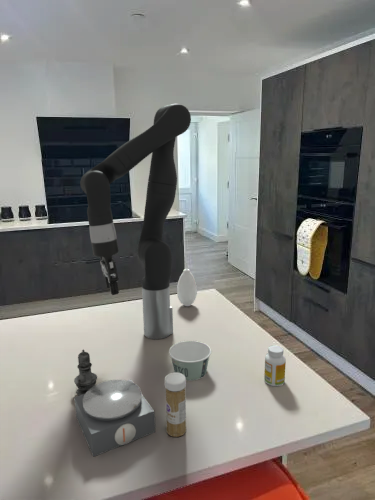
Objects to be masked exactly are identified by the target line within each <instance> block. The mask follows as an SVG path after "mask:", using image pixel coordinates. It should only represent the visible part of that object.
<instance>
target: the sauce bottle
mask: <svg viewBox="0 0 375 500" xmlns="http://www.w3.org/2000/svg"><path fill="white" fill-rule="evenodd" d="M176 294H177V299H178V301H179V303H180V304H182V305H183V306H185V307H190V306H192V304H195V303H194V302H195V301H196V298H197V295H198V287H197V283H196V279H195V277H194V275H193V273H192V272H191V269H189V268H188V263H186V264H185V269H183V271H182V273H181V275H180V276H179V279H178V281H177V287H176Z"/></svg>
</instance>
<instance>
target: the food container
mask: <svg viewBox="0 0 375 500" xmlns="http://www.w3.org/2000/svg"><path fill="white" fill-rule="evenodd" d="M168 355H169V357H170V358H171V362H172V363H171V364H172V368H173V373H175V372H177V373H181V374H183V375H184V376H185V378H186V381H196V380H200V379H202V378H203V377H205V376H206V374H207V371H208V367H209V360H210V356H211V355H212V349H211V347H210V345H208V344H207V343H205V342H202V341H197V340H184V341H183V340H182V341H179V342H176V343H174V344H173V345H171V346H170V348H169V349H168Z"/></svg>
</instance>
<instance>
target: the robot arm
mask: <svg viewBox="0 0 375 500" xmlns="http://www.w3.org/2000/svg"><path fill="white" fill-rule="evenodd" d="M191 122H192V116H191V112H190V111H189V109H188V108H187V106H185V105H183V104H182V103H181V104H180V103H172V104H167V105H164V106H161V107H159V108H158V109H157V110H156V112H155V114H154V118H153V125H151V126H150V127H149V128H148V129H146V130H144V131H143V132H141V133H140V134H138V135H137V136H135V137H133V138H131V139H129V140H127V142H125V143H123V144H122V145H121V146H119V147H118V148H116V150H114V151H113V152H112V153H111V154H109V155H108V156H107V157H105V159H104V160H103V161H102V162H100V163H98V164H96V165H94V166H93V167H92V168H91V169H89V170H87V171H86V172H85V173H84V174H83V175H82V176H81V178H80V181H79V183H80V184H79V185H80V189H81V190H82V191H83V192H84V194H85V195H86V199H87V200H86V201H87V206H88V207H87V209H86V214H87V220H88V226H89V236H90V237H89V238H90V243H91V249H92V254H93V256H94V257H95V258H99V259H100V261H99V262H100V266H101V271H102V275H103V277H104V279H105V285H106V286H105V287H106V288H107V289H110V294H111V295H112V296H115V295H118V294H119V293H120V292H119V286H118V282H119V275H118V270H117V262H116V260H115V259H114V258H113V256H114V255H117V254H118V253H119V252H120V251H119V250H120V249H119V244H118V239H117V238H118V237H117V232H116V228H115V224H114V219H113V213H112V208H111V207H112V206H111V186H110V185H111V184H112V183H114V181H116V180H117V179H120V178H122V177H124V176H125V175H127V174H128V173H129V172H130V171H132V169H134V168H135V167H136V166H137V165H139V163H141V162H142V161H143V160H144V159H146V158H147V157H149V156H150V155H151V158H150V166H149V173H148V174H149V175H148V179H147V186H146V194H145V195H146V196H145V206H144V211H143V212H144V214H143V221H142V222H143V223H142V227H141V231H140V236H139V240H138V244H137V250H136V251H137V257H138V258H139V260H140V262H142V263H144V276H143V277H142V279H141V294H142V295H141V297H142V299H141V300H142V314H143V317H142V318H143V334H144V336H145V337H146V338H147V339H151V340H161V339H165V338H168V337H169V336H170V335H171V334H173V333H174V317H173V316H174V315H173V309H174V308H173V307H172V306H171V298H170V297H171V291H170V282H171V279H172V270H173V269H172V267H173V266H172V264H173V263H172V262H173V258H172V257H173V256H172V250H171V248H170V245H169V244H168V243H166V242H164V241H163V232H164V227H165V223H166V220H167V217H168V215H169V213H170V211H171V209H172V207H173V205H174V203H175V199H176V192H177V186H178V185H177V184H178V176H177V169H176V164H175V156H174V150H175V144H176V139H177V137H178V136H181V135H182V134H184V133H185V132H186V131H187V130H189V127H190V125H191V124H192V123H191Z"/></svg>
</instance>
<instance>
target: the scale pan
mask: <svg viewBox="0 0 375 500" xmlns="http://www.w3.org/2000/svg"><path fill="white" fill-rule="evenodd" d="M142 395H143V394H142V390H141V387H139V385H137V384H136V383H135V382H134V381H132V382H131V381H127V380H126V379H110V380H105V381H102V382H99V383H97V384H95V386H93V387H92V388H90V389H89V390H88V391H87V392H86V394H85V395H84V397H83V409H84V411H85V413H86V414H87V415H88V416H90V417H91V418H94V419H97V420H102V421H110V420H117V419H121V418H124V417H126V416H128V415H130V414H131V413H133V412H134V411H135V410H136V409H137V408H138V407H139V406H140V404H141V401H142Z"/></svg>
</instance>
